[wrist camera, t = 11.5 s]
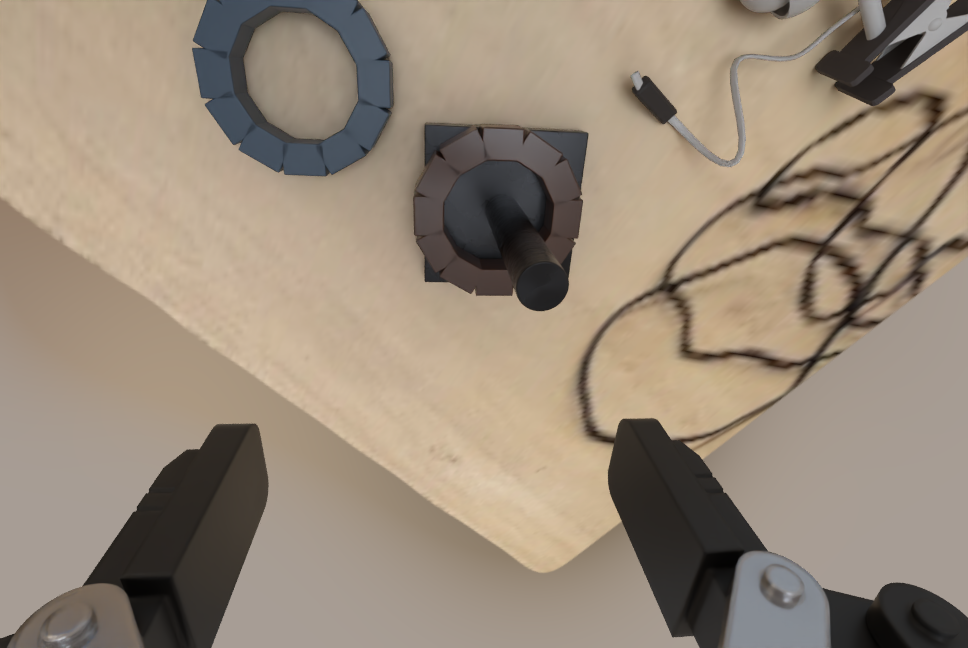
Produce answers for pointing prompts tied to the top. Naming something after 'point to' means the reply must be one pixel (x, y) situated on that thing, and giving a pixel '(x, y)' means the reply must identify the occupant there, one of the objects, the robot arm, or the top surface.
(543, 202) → the stand
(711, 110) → the top surface
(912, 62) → the clip-on lamp
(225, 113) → the slate ring
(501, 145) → the walnut ring
